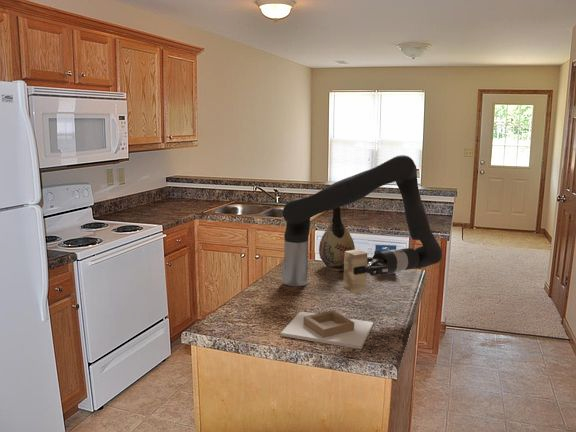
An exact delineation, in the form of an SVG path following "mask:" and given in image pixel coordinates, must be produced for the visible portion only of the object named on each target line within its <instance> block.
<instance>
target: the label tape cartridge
mask: <svg viewBox="0 0 576 432" xmlns="http://www.w3.org/2000/svg"><path fill="white" fill-rule="evenodd" d="M395 249H396V250H397V245H395V244H391V245H390V244H388V245H387V244H375V249H374V252H373V255H374V254H375V253H377V252H381V251H387V250H395ZM392 274H393V275H395V274H396V273H391V275H392Z"/></svg>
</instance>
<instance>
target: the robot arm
mask: <svg viewBox="0 0 576 432" xmlns="http://www.w3.org/2000/svg"><path fill="white" fill-rule="evenodd" d="M392 183H396V185H397V188H398V189H399V193H400V195H401V199H402V202H403V208H404V214H405V219H406V225H407V228H408V232H409V235H410V238H411V239H412V240H414V241H420V243H421V245H422V246H420V247H416V248H410V247H407V248H399V249H397V248H396V249H395V250H387V251H381V252H377V253H375V254H374V253H373V255H372V256H370V257H368V256H367V265H365V267H364V266H360V267H354V268H353V274H355V275H358V274H363V273H364V274H367V275H368V274H369V276H385V275H390V274H391V273H395V274H396V273H399V272H402V271H407V270H412V269H423V268H427V267H429V266H433V265H435V264H438V263H440V262H441V261H442V257H443V250H442V247H441V246H440V244H439V242H438V240H437V238H436V237H435V235H434V234H433V232H432V230H431V226H430V223H429V220H428V216H427V214H426V210H425V206H424V203H423V201H422V198H421V194H420V189H419V183H418V169H417V165H416V163H415V161H414V160H413V159H412V158H411V157H410V156H409V155H405V154H400V155H396V156H393V157H392V158H390V159H388V160H386V161H384V162H383V163H381V164H378V165H377V166H374V167H372V168H370V169H367V170H364V171H361V172H359V173H356V174H354V175H351V176H348V177H346V178H343V179H341V180H339V181H335V182H334V183H332V184H330V185H328V186H326V187H324V188H323V189H321V190H320V191H318V192H316V193H313V194H311V195H309V196H305V197H302V198H301V197H295V198H292V199H290V201H287V202H286V203H285V205H284V207H283V209H282V218H283V219H284V221H285V222H286V226H285V231H284V236H283V237H284V238H283V239H284V243H283V244H284V245H283V247H284V248H283V249H284V250H283V256H284V258H283V259H282V260H281V284H282V285H283V284H284V285H286V286H287V287H288V286H289V287H302V286H303V287H304V286H306V285H307V284H308V280H309V279H308V275H309V274H308V270H309V269H308V268H309V266H308V265H309V264H308V263H309V235H310V229H311V218H312V217H315V216H317V215H319V214H321V213H324V212H327V211H333V210H332V209H335V208H339V207H340V208H342V207H344V206H345V207H346V206H347V205H351V204H352V203H355V202H358V201H360V200H361V199H364V198H365V197H366V196H368V195H370V194H371V193H372V192H374V191H375V190H377V189H378V188H380V187H383V186H385V185H388V184H392ZM342 269H343V270H342V271H344V263H343V264H342ZM391 275H392V274H391Z"/></svg>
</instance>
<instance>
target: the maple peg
mask: <svg viewBox="0 0 576 432" xmlns="http://www.w3.org/2000/svg"><path fill="white" fill-rule="evenodd" d="M367 257H368V252H366V251H363V250H360V249H357V248H356V249H355V250H350V251H345V254H344V270H343V282H342V288H343V289H344V290H346V291H348V292H350V293H353V294H355V293H360V292H363V291H364V292H365V291H367V275H368V274H364V273H363V274H358V275H355V274H353V268H354V267H360V266H364V267H365V265H367Z"/></svg>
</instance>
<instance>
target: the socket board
mask: <svg viewBox="0 0 576 432" xmlns="http://www.w3.org/2000/svg"><path fill="white" fill-rule="evenodd" d="M373 326H374V322H373V321H368V320H367V321H366V320H360V319H353V318H348V317H345V316H344V315H342V314H340V313H339V312H337V311H335V310H329V311H328V310H327V311H324V312H320V313H312V312H305V311H299V313H297V314H296V316H295V317H294V318H292V320H291V321H290V322H289V323H288V324H287V325H286V326H285V327H284V329H283V330H282V331H281V332H280V336H281V337H285V338H286V337H287V338H291V339H292V338H293V339H299V340H304V341H311V342H314V343H315V342H316V343H323V344H329V345H334V346H340V347H345V348H351V349H359V350H362V348H363V347H364V344H365V342H366V341H367V338H369V334H370V332H371V331H372V329H373Z"/></svg>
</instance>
